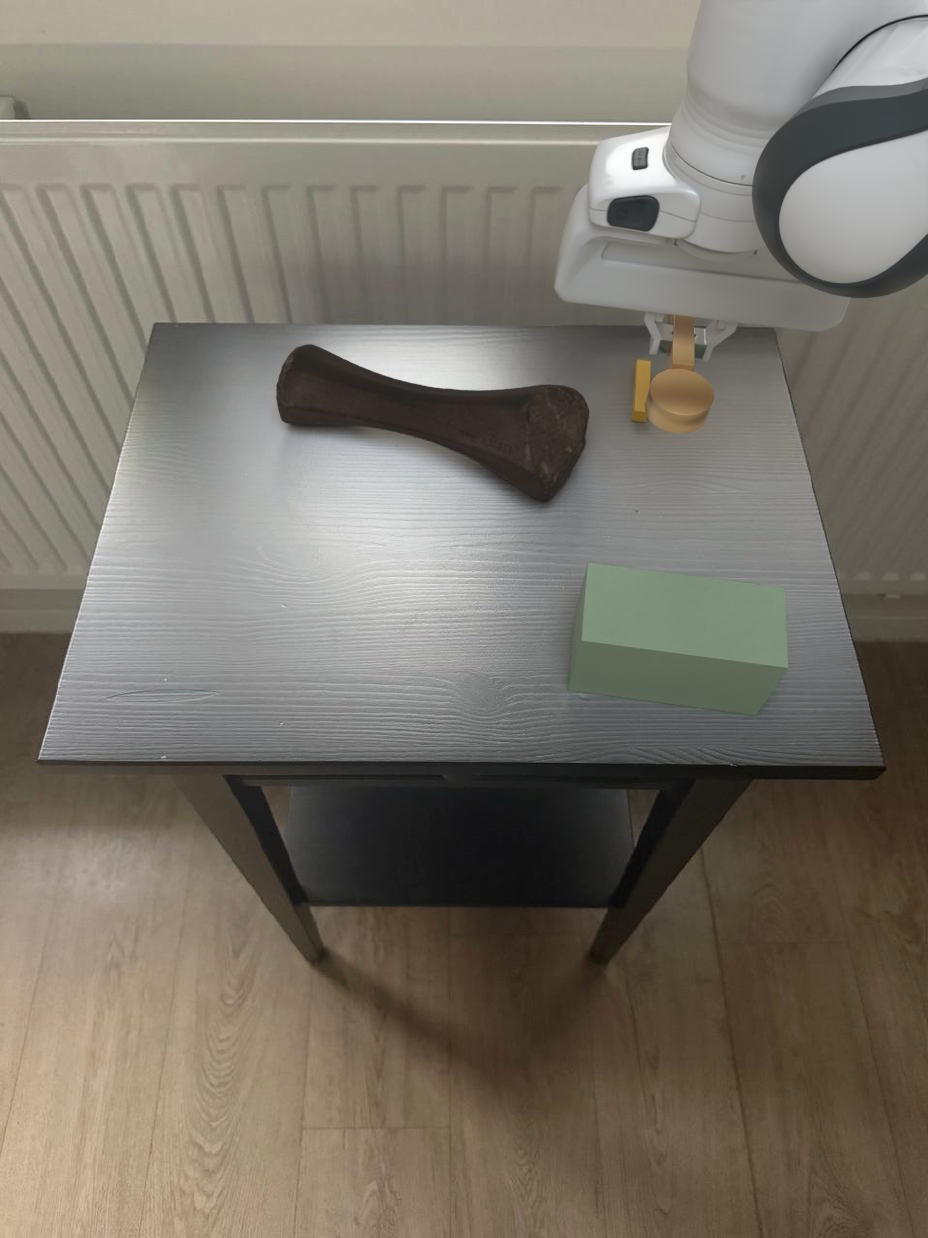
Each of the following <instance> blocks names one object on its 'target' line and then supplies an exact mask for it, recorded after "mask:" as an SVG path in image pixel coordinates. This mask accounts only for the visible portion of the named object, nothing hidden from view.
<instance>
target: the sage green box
mask: <svg viewBox="0 0 928 1238" xmlns="http://www.w3.org/2000/svg"><path fill="white" fill-rule="evenodd" d="M573 617H574V618H573V627H572V628H573V629H572V639H571V649H570V650H571V652H570V660H569V661H570V662H569V674H568V683H567V684H568V685H567V691H570V692H576V693H577V692H578V693H586V694H593V695H598V696H599V695H600V696H608V697H615V698H622V699H629V700H637V701H645V702H651V703H659V704H668V705H674V706H682V707H688V708H696V709H704V710H709V711H710V710H711V711H718V712H725V713H734V714H741V715H747V716H748V715H749V716H757V715H758V714H759V712H760V711H761V709H762V708H763V706H764V705H765V704H766V702H767V701H768V699H769V698H770V696H771V695H772V693H773V691H774V690H775V688H776V687H777V686H778V684H779V683H780V681H781V680H782V678H783V677H784V675H785V674H786V672H787V671H788V669H789V668H790V667H789V664H790V663H789V649H788V647H789V646H788V628H787V627H788V625H787V608H786V588H785V587H781V586H775V585H774V586H773V585H767V584H766V585H765V584H759V583H750V582H743V581H736V580H727V579H721V578H720V579H719V578H711V577H704V576H696V575H688V574H680V573H673V572H665V571H657V570H651V569H642V568H633V567H625V566H619V565H610V564H603V563H595V562H587V564H586V568H585V572H584V576H583V580H582V584H581V588H580V592H579V597H578V599H577V605H576V609H575V613H574V616H573Z"/></svg>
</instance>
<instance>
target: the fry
mask: <svg viewBox="0 0 928 1238" xmlns="http://www.w3.org/2000/svg"><path fill="white" fill-rule="evenodd" d="M651 372H652V361H651V360H647V359H646V360H645V359H636V363H635V367H634V376H633V391H632V408H631V409H632V410H631V421H632V422H638V423H647V421H648V417H647V415H646V412H645V402H646V398H647V394H648V391H649V387H650V384H651V377H652V376H651Z"/></svg>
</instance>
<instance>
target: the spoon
mask: <svg viewBox="0 0 928 1238" xmlns="http://www.w3.org/2000/svg"><path fill="white" fill-rule="evenodd" d="M666 315H667V316H666V319H667V321H666V324H669V325H674V329H673V343H672V346H671V349H670V353H669V356H668V357H666V356H665V357H666V358H665V370H662V371H660V372H659V373H657V374H656V375H655V376H654V377H653V378H652V380H650V387H649V391H648V394H647V398H646V402H645V412H646V415H647V420H649V421H650V423H652V424H653V426H655V427H657V428H658V429H659V430H661V431H664V432H666V433H670V434H675V435H685V434H691V433H694V432H696V431H698V430H699V429H700V428H702V427H703V426H704V425H705V424H706V422H707V419H708V416H709V415H710V411H711V408H712V406H713V403H714V400H715V393H714V388H713V386H712V385H711V383H710V381H708V380H707V379H706V378H705V377H704V376H703V375H702V374H700V373H698V372H695V371H694V369H695V363H696V362H695V361H696V360H695V344H694V339H695V328H696V326H695V325H696V322H695V319H696V317H688V316H680V315H671V314H666Z"/></svg>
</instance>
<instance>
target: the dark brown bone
mask: <svg viewBox="0 0 928 1238" xmlns="http://www.w3.org/2000/svg"><path fill="white" fill-rule="evenodd" d="M275 386H276V388H275V389H276V390H275V392H276V396H275V399H276V404H277V410H278V413H279V417H280V419H281V422H283V423H286V424H290V425H300V426H301V425H304V426H305V425H310V426H312V425H313V426H315V425H317V426H319V425H320V426H321V425H333V426H335V425H336V426H353V427H362V428H363V427H364V428H370V429H371V428H372V429H378V430H383V431H389V432H394V433H397V434H401V435H406V436H410V437H413V438H417V439H421V440H423V441H427V442H429V443H433V444H436V445H438V446H441V447H443V448H446V449H448V450H451V451H453V452H455V453H458V454H460V455H462V456H464V457H467V458H468V459H470V460H472V461H473V462H476V463H478V464H479V465H481V466H483V467H485V468H486V469H488V470H490V471H492V472H493V473H495V474H496V475H498V476H500V477H501V478H503V479H504V480H506V481H507V482H508V483H510V484H511V485H514V486H515V487H517V488H518V489H520V490H521V491H523V492H524V493H526V494H528V495H530V496H531V497H533V498H535V499H537V500H538V501H540V502H541V501H542V502H544V503H547V502H551V501H552V500H553V499H554V498H555V496H556V495H557V494H558V492H559V491H561V489H563V488H564V486H565V485H566V483H567V482H568V479H569V478H570V477H571V474H572V473H573V471H574V468H575V467H576V465H577V464H578V461H579V459H580V458H581V455H582V453H583V452H584V451H585V448H586V445H587V439H586V434H587V429H588V423H589V419H590V408H589V406H588V403H587V401H586V399H585V396H584V395H583V394H582V393H581V392H580V391H578V389H575V388H574V387H570V386H567V385H561V384H551V383H549V384H548V383H547V384H538V385H537V384H536V385H530V386H521V387H512V388H503V389H502V388H501V389H457V388H443V387H434V386H429V385H423V384H418V383H414V382H409V381H406V380H402V379H398V378H395V377H391V376H388V375H384V374H382V373H379V372H377V371H373V370H370V369H368V368H366V367H363V366H361V365H359V364H357V363H354V362H352V361H350V360H348V359H345V358H343V357H341V356H339V355H337V354H335V353H334V352H331V351H328V350H327V349H325V348H322V347H320V346H318V345H315V344H312V343H308V344H304V345H300V346H296V347H295V348H294V349H293V350H292V351H291V352H290V353H289V354H288V355H287V357H286V358H285V361H284V362H283V364H282V366H281V369H280V371H279V375H278V379H277V382H276V385H275Z"/></svg>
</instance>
